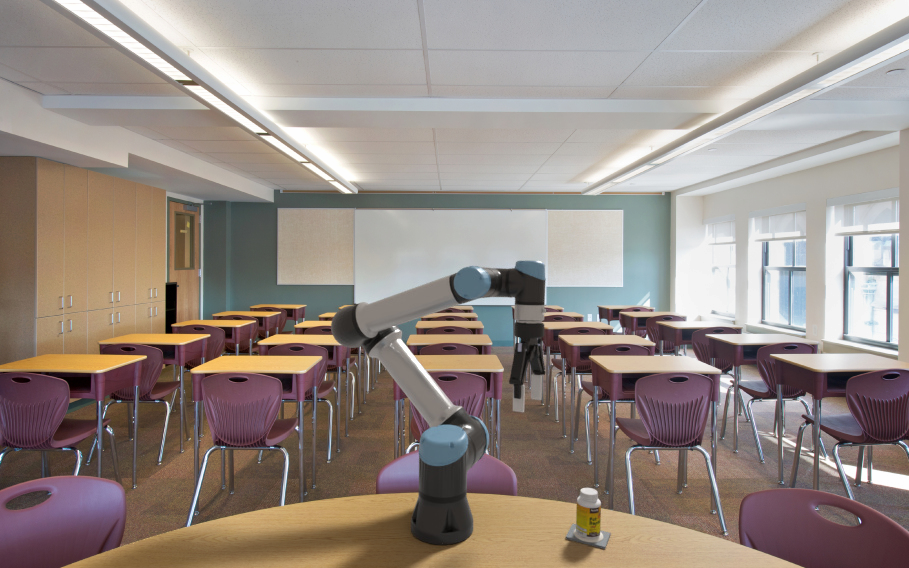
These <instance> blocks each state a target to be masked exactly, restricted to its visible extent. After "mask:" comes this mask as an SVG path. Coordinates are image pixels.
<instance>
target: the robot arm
mask: <svg viewBox="0 0 909 568" xmlns="http://www.w3.org/2000/svg"><path fill="white" fill-rule="evenodd" d="M514 265H515V266H514V267H511V268H502V267H501V268H500V267H499V268H497V267H493V268H492V267H485V266H477V265H469V266H465V267H463V268H460V269H459V270H457V272H455V273H453V274H449V275H447V276H443V277H441V278H438V279H435V280H432V281H430V282H426V283H424V284H421V285H418V286H416V287H412V288H410V289H407V290H404V291H401V292H398V293H396V294H393V295H391V296H388V297H384V298H381V299H379V300H376V301H374V302H371V303H368V302H365V301H362V302H359V303H356V304H353V305H352V304H351V305H346V306H345V307H342V308H340V309H338V311H337V312H336V313H335V314H334V316H333V317H332V319H331V324H330V329H331V334H332V336H333V338H334V340H335V341H336V342H337V343H338V344H340V345H341V346H343V347H346V348H349V349H350V348H352V349H355V348H356V349H357V348H362V349H363V350H364V352H366V354H367V356H368V357H369V358H373V359H378V361H379V362H380V363H381V364H382V366H383V367H384V368H385V370H386V371H387V372H388V374H389V375H390V376H391V378H392V379H393V380H394V382H395V384H397V385H398V386H399V389H401V391H402V392H403V393H404V395H406V397H407V398H408V400H410V402H411V404H413V406H414V407H415V409H416V410H417V411H418V412H419V413H418V414H420V415H421V416H422V418H423V419H424V421H426V423H427V425H428V426H429V428H428V429H426V430H425V431H423V433H422V434H421V435H420V438H419V446H418V497H417V500H416V502H415V507H414V509H413V512H412V514H411V518H410V531H411V533H412V535H413V536H414V537H415V538H416V539H418V540H420V541H421V542H423V543H428V544H432V545H453V544H457V543H460V542H463V541H465V540H468V538H469V537H471V535H472V534H473V533H474V516H473V514H472V510H471V506H470V504H469V500H468V494H467V492H468V491H467V486H468V479H467V478H468V472H469V470H470V469H471V468H472V467H473V466H474V465H475V464H476V463H478V462H479V461H480V460H481V459H483V457H484V455H485V453H486V452H487V450H488V447H489V444H490V434H489V431H488V427H487V426H486V424H485V423H484V421H482V419H480V418H479V417H477V416H474V415H470V414H469V413H468V412H467V410H466V409H465V408H464V407H463V406H462V405H455V404H453V402H452V400H451V399H450V398H449V397H448V396H447V394H446V393H445V392H444V391H443V389H442V388H441V387H440V386H439V384H438V383H437V382H436V380H435V379H434V378H433V377H432V376H431V374H430V373H429V372H428V371H427V369H426V368H425V367H424V366H423V364H422V363H421V362H420V361H419V360H418V358H417V357H416V356H415V354H414V353H413V352H412V351H411V350H410V348H409V347H408V346H407V344H406V343H405V342H404V341H403V339H402V336H403V330H401V328H400V327H399V325H402V324H405V323H408V322H411V321H414V320H417V319H421V318H424V317H426V316H429V315H433V314H436V313H438V312H441V311H445V310H447V309H451V308H453V307H456V306H459V305H462V304H466V303H469V302H472V301H475V300H478V299H486V298H510V299H511V298H514V315H513V316H514V317H513V319H514V320H515V321H516V322H515V323H514V326H513V329H514V330H513V332H514V333H513V336H514V337H516V338H519V339H520V341H519V342H515V344H514V354H513V358H512V364H511V365H512V366H511V371H510V375H509V383H508V384H509V385H512V412H515V413H517V412H518V413H525V401H526V400H525V398H526V395H525V393H526V389H525V388H526V385H525V384H524V382H525V379H526V375H527V372H528V371H527V370H528V366H529V364H530V368H531V371H532V374H531V375H530V378H531V379H530V381H531V382H530V400H535V401H542V398H543V397H542V395H543V392H542V391H543V390H542V389H543V376H545V375H546V370H545V369H546V368H545V366H546V365H545V359H544V352H543V343H542V341H543V340H542V338H544V337H545V323H544V322H543V321H545V314H546V313H547V309H546V308H545V304H546V303H545V299H546V298H545V297H546V295H545V294H546V279H547V278H546V268H545V266H546V265H545V263H544V262H543V261H541V260H517V261H516V262H515V264H514Z"/></svg>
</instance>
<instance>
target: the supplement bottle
mask: <svg viewBox="0 0 909 568" xmlns="http://www.w3.org/2000/svg"><path fill="white" fill-rule="evenodd" d="M579 492H580V493H579V496H578V497H577V498H576V515H575V516H576V517H575V518H576V519H575V521H576V523H575V524H576V532H577V534H578V535H579V536H581V537H583V538H586V539H596V538H598V537H599V536H600V530H601V524H602V523H601V519H602V518H601V517H602V513H601V511H602V502H601V500H600V499H599V494H598V493H599V492H598V490H596V489H595V488H592V487H583V488H581V489H580V491H579Z"/></svg>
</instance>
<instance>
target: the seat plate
mask: <svg viewBox="0 0 909 568" xmlns="http://www.w3.org/2000/svg"><path fill="white" fill-rule="evenodd" d="M611 535H612V534H611V532H609V531H604V530H602V529H600V536H599V537H598V538H596V539H586V538H583V537H581V536H579V535H578V534H577V532H576V523H572V524H571V526H570V527H569V530H568V531H567V533H566V535H565V540H569V541H571V542H572V541H573V542H577V543H581V544H584V545H587V546H590V547H595V548H600V549H602V550H606V548H607V546H608V542H609V540H610V538H611Z"/></svg>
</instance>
